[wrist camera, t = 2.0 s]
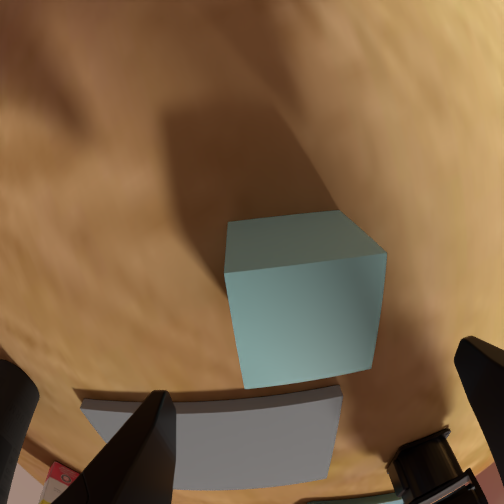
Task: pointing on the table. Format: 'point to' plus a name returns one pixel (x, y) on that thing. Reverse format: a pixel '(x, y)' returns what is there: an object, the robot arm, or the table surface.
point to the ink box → (56, 482)
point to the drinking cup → (13, 419)
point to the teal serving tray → (366, 500)
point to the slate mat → (242, 438)
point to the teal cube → (303, 296)
